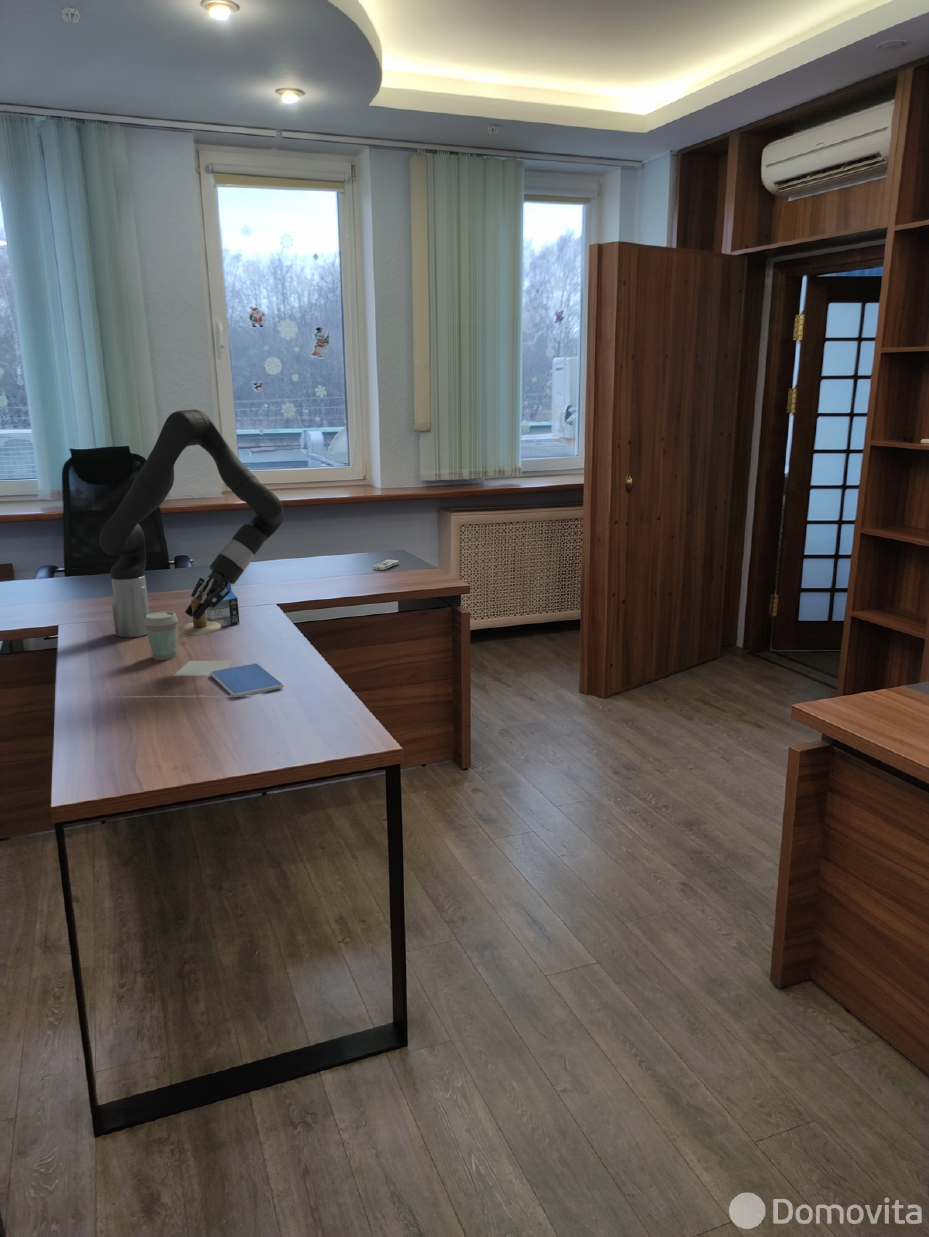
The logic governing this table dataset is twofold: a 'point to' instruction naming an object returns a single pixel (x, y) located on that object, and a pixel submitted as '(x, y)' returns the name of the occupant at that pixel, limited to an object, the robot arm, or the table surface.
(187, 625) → the lid
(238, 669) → the tablet computer
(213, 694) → the table surface
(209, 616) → the ink cartridge box
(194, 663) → the coaster
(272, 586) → the table surface
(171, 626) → the coffee cup
